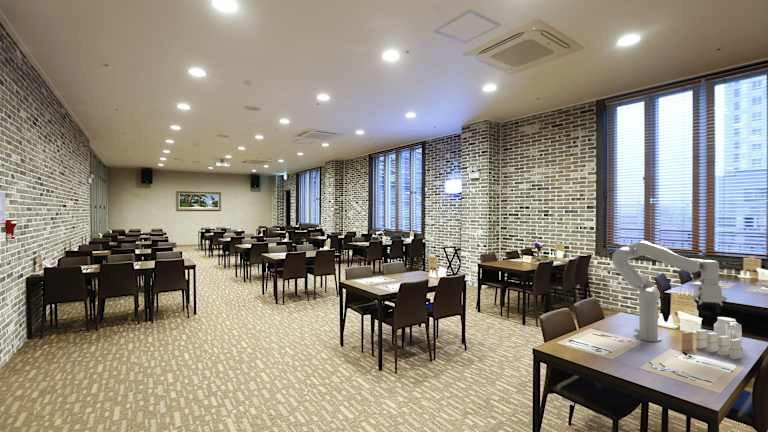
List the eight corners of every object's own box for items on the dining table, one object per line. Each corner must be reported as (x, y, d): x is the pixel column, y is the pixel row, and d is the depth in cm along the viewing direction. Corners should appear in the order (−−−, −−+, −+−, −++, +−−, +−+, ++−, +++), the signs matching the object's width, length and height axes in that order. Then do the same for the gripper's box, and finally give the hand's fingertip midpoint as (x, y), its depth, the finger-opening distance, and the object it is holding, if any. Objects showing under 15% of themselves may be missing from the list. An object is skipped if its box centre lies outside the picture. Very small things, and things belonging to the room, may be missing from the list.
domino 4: (718, 354, 204) (718, 336, 204) (725, 353, 205) (725, 335, 205) (721, 355, 202) (721, 337, 202) (729, 354, 203) (729, 336, 203)
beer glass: (745, 352, 207) (745, 325, 207) (730, 351, 208) (730, 325, 208) (735, 347, 214) (735, 322, 214) (722, 346, 215) (722, 321, 215)
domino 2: (696, 347, 214) (696, 330, 214) (703, 346, 216) (703, 329, 216) (699, 348, 212) (699, 331, 212) (707, 347, 214) (707, 330, 214)
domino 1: (681, 349, 211) (681, 332, 211) (689, 348, 213) (689, 331, 213) (685, 350, 210) (685, 332, 210) (692, 349, 211) (692, 332, 211)
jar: (712, 342, 222) (712, 318, 222) (715, 339, 228) (715, 315, 228) (738, 347, 213) (738, 322, 213) (740, 344, 219) (740, 319, 219)
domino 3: (706, 350, 209) (706, 333, 209) (714, 349, 211) (714, 332, 211) (710, 351, 207) (710, 334, 207) (718, 350, 209) (718, 333, 209)
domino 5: (729, 357, 198) (729, 339, 198) (737, 356, 200) (737, 338, 200) (733, 359, 196) (733, 340, 197) (741, 357, 198) (741, 339, 198)
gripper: (697, 282, 206) (696, 312, 207) (731, 283, 204) (731, 314, 204) (688, 279, 214) (687, 308, 214) (721, 281, 211) (721, 310, 211)
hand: (708, 311), depth 209 cm, fingers open, 9 cm apart
